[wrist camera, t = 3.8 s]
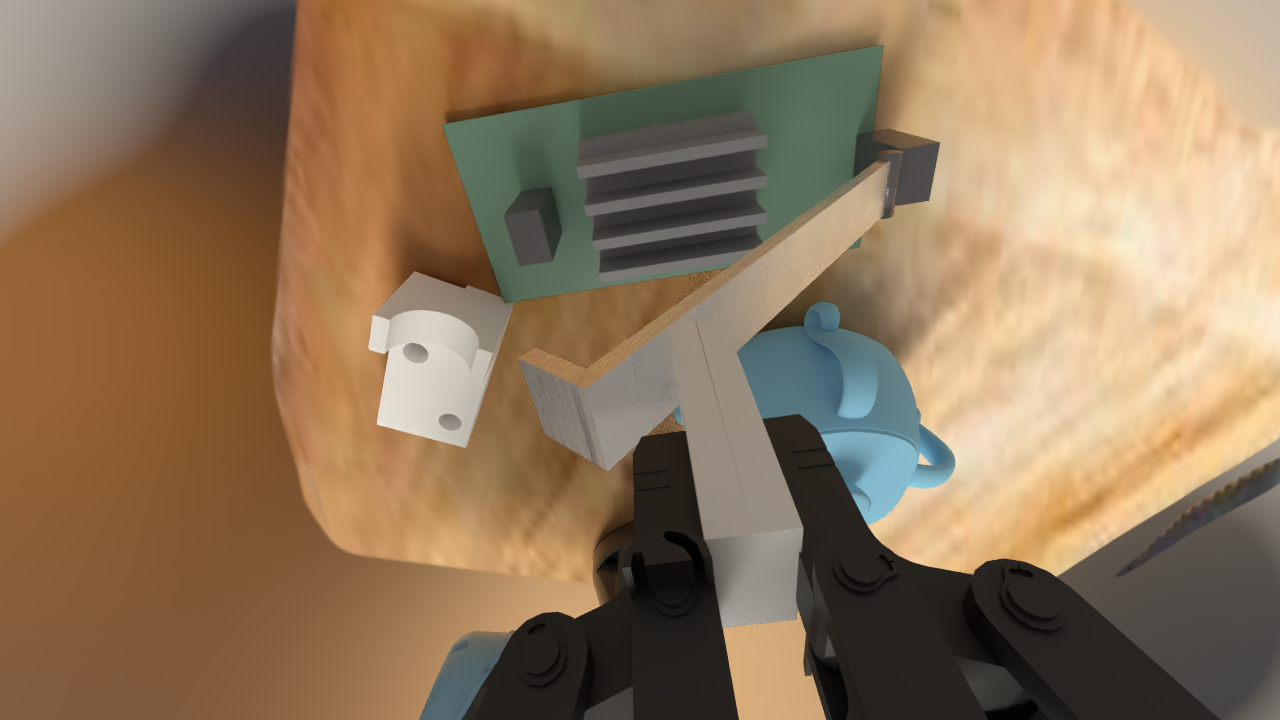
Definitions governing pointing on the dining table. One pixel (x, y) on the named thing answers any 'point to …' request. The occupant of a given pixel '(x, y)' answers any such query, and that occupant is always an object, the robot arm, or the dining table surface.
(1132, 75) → the dining table surface
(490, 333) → the bracket
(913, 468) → the decorative pot
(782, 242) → the strap
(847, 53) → the heatsink board
